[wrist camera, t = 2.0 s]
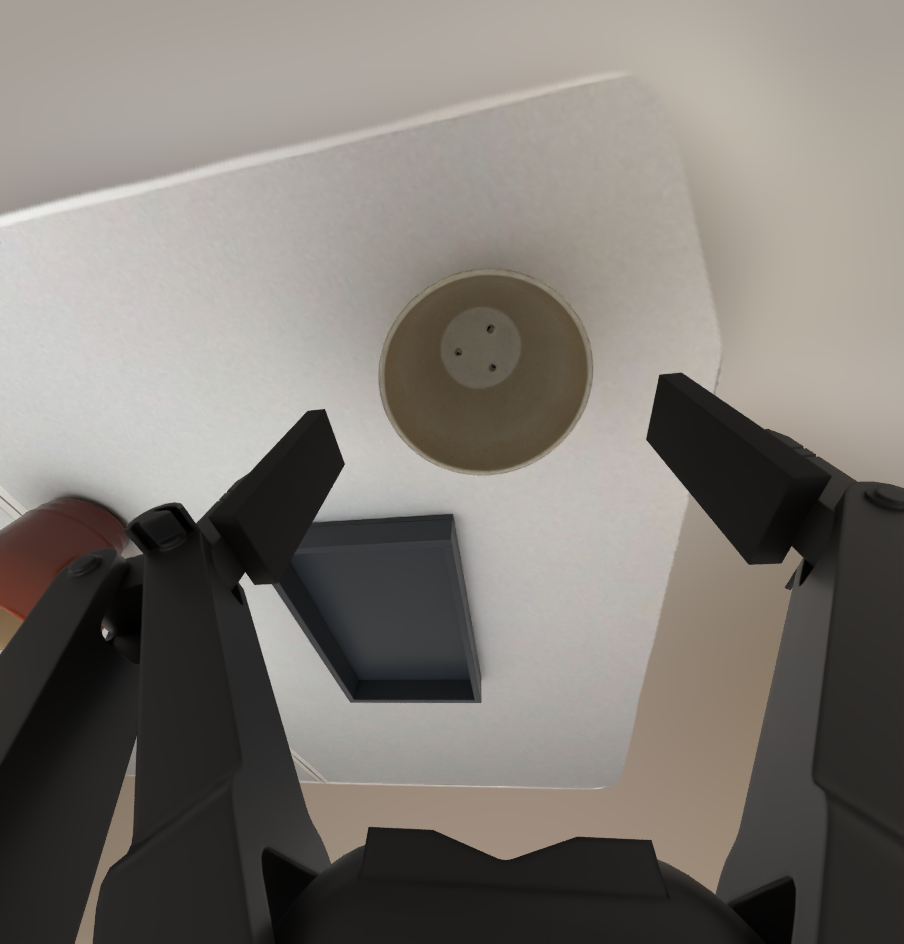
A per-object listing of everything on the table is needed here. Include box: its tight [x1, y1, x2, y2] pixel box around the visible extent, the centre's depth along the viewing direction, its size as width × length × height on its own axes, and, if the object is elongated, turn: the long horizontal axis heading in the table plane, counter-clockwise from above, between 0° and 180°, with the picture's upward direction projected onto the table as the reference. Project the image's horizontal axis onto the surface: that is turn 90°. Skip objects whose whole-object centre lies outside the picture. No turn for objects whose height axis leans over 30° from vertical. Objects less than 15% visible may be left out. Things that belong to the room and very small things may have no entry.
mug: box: [0, 498, 128, 650], centre depth 30 cm, size 12×9×10 cm
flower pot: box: [379, 269, 593, 475], centre depth 19 cm, size 10×10×7 cm
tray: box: [272, 514, 481, 703], centre depth 39 cm, size 30×18×3 cm, turn 7°
